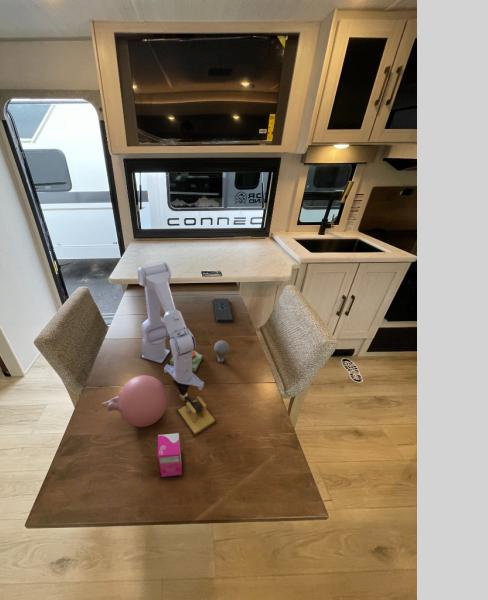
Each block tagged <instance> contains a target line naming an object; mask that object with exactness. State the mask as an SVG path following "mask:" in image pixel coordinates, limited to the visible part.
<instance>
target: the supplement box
mask: <svg viewBox="0 0 488 600" xmlns="http://www.w3.org/2000/svg"><path fill="white" fill-rule="evenodd" d="M180 443H181V442H180V433H179V432H175V433H167V434H158V435H157V459H158V465H159V471H160V477H161V478H167V477H168V478H169V477H177V476H182V475H183V469H182V467H183V466H182V455H181V454H182V453H181V444H180Z"/></svg>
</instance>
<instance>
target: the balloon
mask: <svg viewBox="0 0 488 600" xmlns="http://www.w3.org/2000/svg"><path fill="white" fill-rule="evenodd" d="M163 384H164V383H162V382H161V381H160V380H159V379H158V378H156V377H154V376H151V375H145V374H144V375H143V374H142V375H137V376H134V377H132V378H131V379H129V380H128V381H127V382H126V383H125V384H124V385H123V387H122V388H121V390H120V391H119V392H118V393H117V396H114V397H112V398H110V399H109V400H106V401H105V402H104V401H103V402H102V403H101V405H102V407H106V411H109V412H111V411H117V412H118V413H120V415H121V417H122V419H123V420H124V421H125V422H127V423H128V424H129V425H131V426H134V427H137V428H144V427H148V426H151V425H153V424H155V423H156V422H158V421H159V420H160V419H161V418H162V417H163V415H164V414H165V411H166V409H167V405H168V393H167V390H166V387H165V386H164V385H163Z"/></svg>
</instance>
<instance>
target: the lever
mask: <svg viewBox="0 0 488 600" xmlns="http://www.w3.org/2000/svg"><path fill="white" fill-rule="evenodd" d="M179 399H180V400H181V401H184V402H186V403H187V402H189V403H190V404H191V405H192V406H193V408H194V409H195V410H196V414H198V413H200V412H201V411H202V409H201V405H200V404H199V403H198V402H197V401H195V402H193V401H194V400H192V399H191V398H190V397H189V394H188V392H187V393H186V394H185V396H183V395H181V394H180V393H179Z"/></svg>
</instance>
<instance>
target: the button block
mask: <svg viewBox="0 0 488 600" xmlns="http://www.w3.org/2000/svg"><path fill="white" fill-rule="evenodd" d="M192 351H194V352H195V358H194V359H192V372H193V373H194V372H196V371H197V369H198V367H199V365H200V363H201V361H202V360H203V354H200V353H198V352H197V351H196V350H194V349H193V350H192ZM169 365H171V366H174V356H173V355H172V357H171V358H170V360H169Z"/></svg>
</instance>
